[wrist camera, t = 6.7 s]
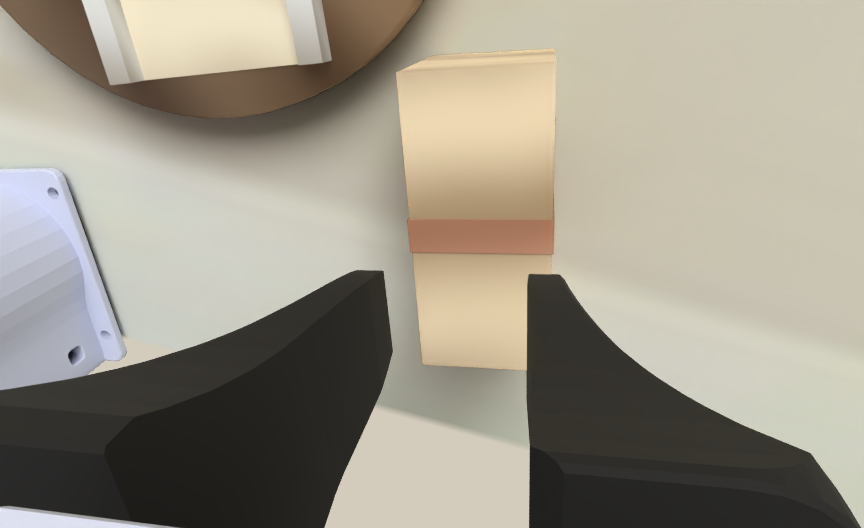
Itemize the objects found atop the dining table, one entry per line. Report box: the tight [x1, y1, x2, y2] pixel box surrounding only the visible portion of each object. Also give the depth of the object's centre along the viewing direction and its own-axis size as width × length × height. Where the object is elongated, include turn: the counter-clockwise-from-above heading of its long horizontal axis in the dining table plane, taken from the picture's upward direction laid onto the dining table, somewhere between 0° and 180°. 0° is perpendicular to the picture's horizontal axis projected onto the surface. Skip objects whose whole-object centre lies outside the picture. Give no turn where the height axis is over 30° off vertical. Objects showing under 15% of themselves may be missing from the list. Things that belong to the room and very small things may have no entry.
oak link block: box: [396, 49, 556, 370], centre depth 18 cm, size 9×4×5 cm, turn 4°
